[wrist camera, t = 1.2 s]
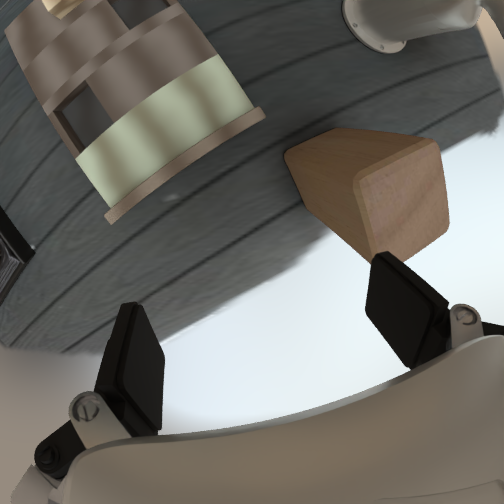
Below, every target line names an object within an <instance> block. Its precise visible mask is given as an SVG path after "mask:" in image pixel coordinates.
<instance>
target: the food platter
mask: <svg viewBox="0 0 504 504" xmlns="http://www.w3.org/2000/svg"><path fill="white" fill-rule="evenodd" d="M0 238H1V239H0V306H1V304H2V303H3V301H4V299H5V298H6V296H7V294H8V293H9V291H10V290H11V288H12V286H13V285H14V283H15V282H16V280H17V279H18V277H19V276H20V274H21V273H22V271H23V270H24V269H25V267H26V266H27V264H28V263H29V262H30V260H31V259H32V257H33V256H34V255H35V252H34V250H33V249H32V248H31V247H30V245H29V244H28V243H27V242H26V240H25V239H24V238H23V237H22V235H21V234H20V233H19V231H18V230H17V229H16V227H15V226H14V224H13V223H12V222H11V220H10V219H9V217H8V216H7V215H6V213H5V212H4V210H3V209H2V207H1V206H0Z"/></svg>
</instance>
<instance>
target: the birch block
mask: <svg viewBox="0 0 504 504" xmlns="http://www.w3.org/2000/svg"><path fill="white" fill-rule="evenodd" d="M83 1H84V0H42V2H43V3H44V5H45V7H46V9H47V10H48V12H50V13H51V14H53V15H54V16H56V17H57V18H59V19H60V20H61V19H62V18H63V17H64V16H65V15H67V14H68V13H69V12H70V11H71V10H73V9H74V8H75V7H76V6H78V5H79V4H80V3H82V2H83Z"/></svg>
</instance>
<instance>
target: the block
mask: <svg viewBox="0 0 504 504" xmlns="http://www.w3.org/2000/svg"><path fill="white" fill-rule="evenodd" d="M284 159H285V162H286V164H287V166H288V168H289V170H290V172H291V175H292V177H293V179H294V181H295V184H296V186H297V188H298V190H299V193H300V195H301V197H302V199H303V202H304V204H305V206H306V209H307V210H309V211H310V212H311V213H312V214H313V215H314V216H316V217H317V218H318V219H319V220H320V221H322V222H323V223H324V224H325V225H326V226H328V227H329V228H330V229H331V230H332V231H334V232H335V233H336V234H337V235H338V236H339V237H340V238H342V239H343V240H344V241H345V242H346V243H347V244H349V245H350V246H351V247H352V248H353V249H354V250H355V251H356V252H358V253H359V254H360V255H361V256H362V257H363V258H364V259H366V260H367V261H368V262H369V263H370V264H371V260H372V258H374V256H375V254H376V253H380V252H385V251H389V252H390V253H392V254H393V255H394V256H395V257H397V258H398V259H399V260H400V261H402V262H404V261H406V260H407V259H409V258H410V257H412V256H413V255H415V254H416V253H418V252H419V251H420V250H422V249H423V248H425V247H426V246H428V245H429V244H430V243H432V242H433V241H435V240H436V239H437V238H439V237H440V236H441V235H443V234H444V233H445V232H446V231H447V229H448V227H449V210H448V200H447V191H446V184H445V177H444V171H443V165H442V160H441V154H440V149H439V146H438V144H437V143H436V141H434V140H433V139H429V138H423V137H417V136H411V135H404V134H397V133H390V132H382V131H372V130H362V129H350V128H334V129H332V130H330V131H327V132H325V133H323V134H321V135H318V136H316V137H314V138H312V139H309V140H307V141H305V142H303V143H301V144H299V145H296V146H294V147H292V148H290V149H288V150H287V151H286V152H285V153H284Z"/></svg>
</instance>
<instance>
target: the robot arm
mask: <svg viewBox="0 0 504 504" xmlns="http://www.w3.org/2000/svg"><path fill="white" fill-rule="evenodd" d="M482 8H485V9H486V11H487V12H488V13H489V15H490V16H491V18H492V20H493V21H494V22H495V24H496V26H497V28H498V29H499V31H500V33H501V35H502V37H503V39H504V0H343V4H342V12H343V17H344V19H345V22H346V24H347V25H348V27H349V29H350V30H351V32H352V33H353V34H354V35H355V36H356V37H357V39H358V40H359V41H361V42H362V43H363V44H364V45H366V46H367V47H369V48H370V49H372V50H374V51H377V52H380V53H384V54H391V53H395V52H399V51H400V50H402V49H403V48H404V46H405V45H406V42H407V40H410V39H415V38H419V37H424V36H429V35H434V34H439V33H445V32H451V31H458V30H464V29H468V28H471V27H472V26H473V25H475V24H476V22H477V21H478V19H479V17H480V14H481V11H482ZM448 305H449V302H448V301H447V300H446V299H445V298H444V297H443V296H442V295H440V294H439V293H438V292H437V291H436V290H435V289H434V288H433V287H431V286H430V285H429V284H428V283H427V282H426V281H425V280H423V279H422V278H421V277H420V276H419V275H417V274H416V273H415V272H414V271H413V270H411V269H410V268H409V267H408V266H406V265H405V264H404V263H403V262H402V261H400V260H399V259H398V258H397V257H395V256H394V255H393V254H392V253H390V252H389V251H385V252H380V253H376V254H375V256H374V258H372V260H371V269H370V277H369V285H368V292H367V299H366V306H365V312H366V315H367V316H368V318H369V319H370V320H371V322H372V323H373V324H374V325H375V327H376V328H377V329H378V331H379V332H380V333H381V335H382V336H383V337H384V339H385V340H386V341H387V342H388V344H389V345H390V346H391V348H392V349H393V351H394V352H395V353H396V355H397V356H398V357H399V359H400V360H401V361H402V363H403V364H404V365H405V366H406V367H409V368H410V369H411V370H410V371H408V372H406V373H404V374H402V375H400V376H398V377H396V378H393V379H391V380H389V381H387V382H384V383H382V384H379V385H377V386H375V387H372V388H370V389H367V390H365V391H362V392H360V393H357V394H354V395H352V396H349V397H346V398H343V399H340V400H338V401H335V402H332V403H329V404H326V405H322V406H319V407H316V408H313V409H309V410H306V411H302V412H299V413H295V414H291V415H287V416H283V417H279V418H275V419H271V420H266V421H262V422H257V423H252V424H247V425H241V426H236V427H230V428H223V429H217V430H208V431H200V432H192V433H183V434H171V435H158V430H161V429H162V405H163V382H164V367H165V356H164V353H163V350H162V348H161V346H160V344H159V342H158V340H157V338H156V336H155V333H154V331H153V329H152V327H151V324H150V322H149V320H148V318H147V315H146V313H145V311H144V308H143V306H142V305H138V304H137V302H129V303H123V304H122V305H121V307H120V310H119V313H118V316H117V319H116V322H115V325H114V328H113V331H112V334H111V337H110V339H109V340H108V342H107V345H106V348H105V351H104V355H103V358H102V362H101V365H100V369H99V373H98V376H97V380H96V384H95V388H94V392H92V391H87V392H83V393H81V394H79V395H77V396H76V397H75V398H74V399H73V401H72V402H71V403H70V406H69V417H70V420H69V421H68V422H66V423H65V424H64V425H63V426H62V427H60V428H59V429H57V430H56V431H55V432H54V433H52V434H51V435H50V436H48V437H47V438H46V439H45V440H43V441H42V442H41V443H40V444H39V445H38V446H37V448H36V450H35V454H34V459H35V463H36V465H35V466H33V465H30V467H29V468H28V470H27V471H26V473H25V474H24V476H23V477H22V479H21V480H20V482H19V483H18V485H17V486H16V488H15V489H14V491H13V492H12V495H11V504H504V326H501V325H496V324H492V323H487V322H482V321H481V317H480V315H479V313H478V312H477V310H475V309H474V308H473V307H471V306H469V305H466V304H456V305H454V306H453V307H452V308H451V309H450V310H449V309H448Z"/></svg>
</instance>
